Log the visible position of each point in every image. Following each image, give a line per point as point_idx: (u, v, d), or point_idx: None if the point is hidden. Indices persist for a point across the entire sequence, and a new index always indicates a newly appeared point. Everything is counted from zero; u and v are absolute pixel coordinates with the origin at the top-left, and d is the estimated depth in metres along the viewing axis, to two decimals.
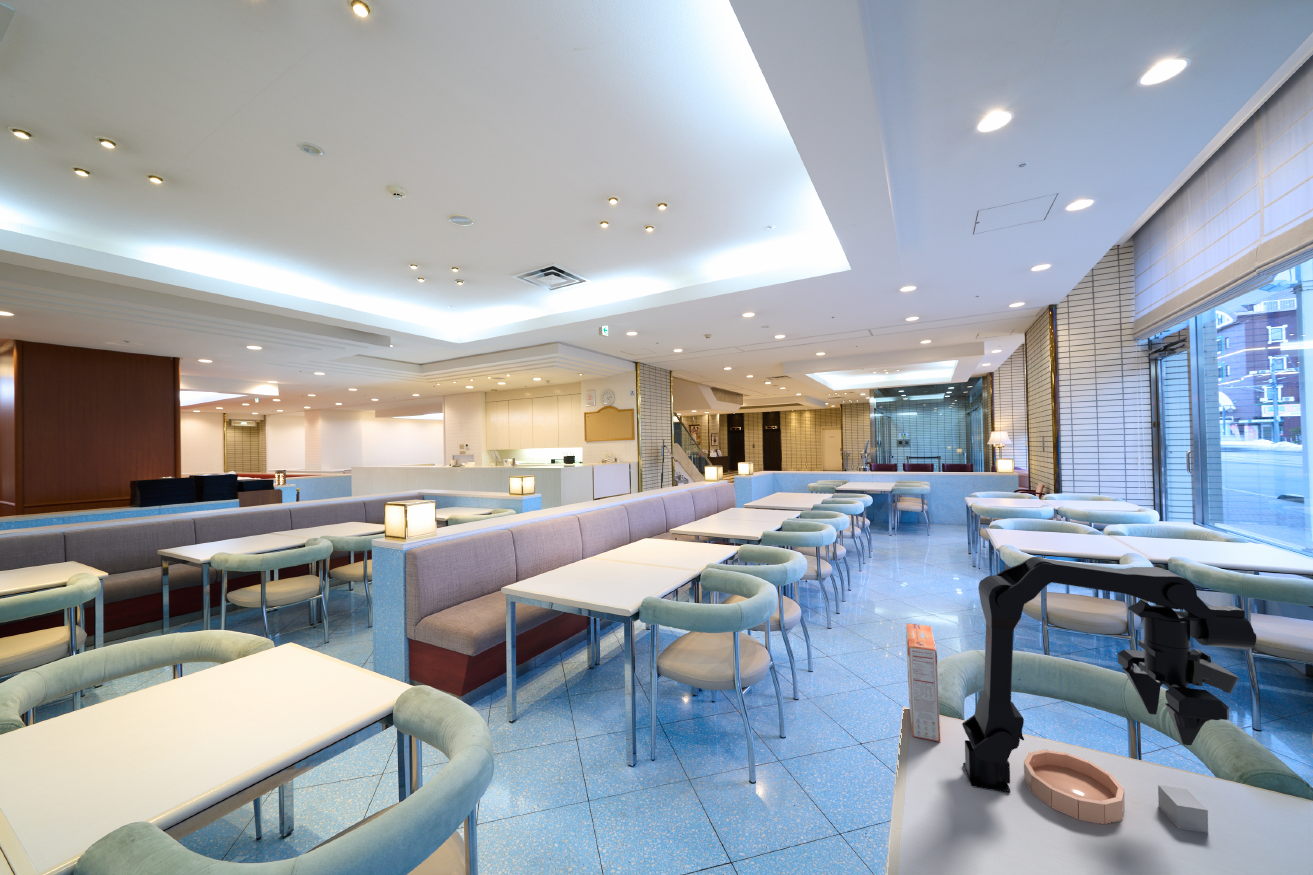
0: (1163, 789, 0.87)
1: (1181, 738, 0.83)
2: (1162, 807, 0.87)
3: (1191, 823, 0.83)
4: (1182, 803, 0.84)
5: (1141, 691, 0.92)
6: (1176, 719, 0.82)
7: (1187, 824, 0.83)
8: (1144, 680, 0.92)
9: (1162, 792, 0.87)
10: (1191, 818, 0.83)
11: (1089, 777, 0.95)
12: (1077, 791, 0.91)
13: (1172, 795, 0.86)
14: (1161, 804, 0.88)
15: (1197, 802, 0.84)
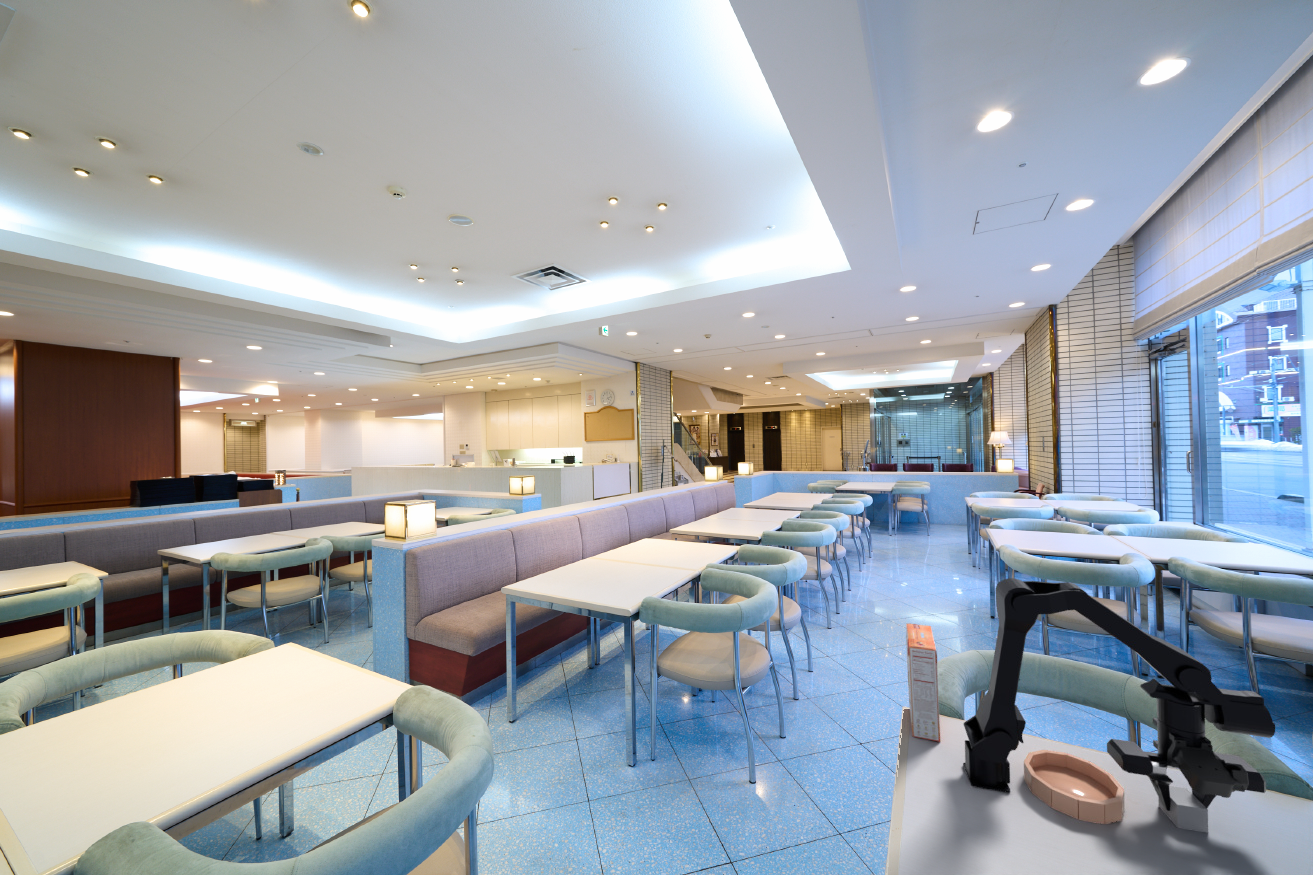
0: None
1: (1160, 798, 0.87)
2: (1162, 806, 0.87)
3: (1191, 822, 0.83)
4: (1182, 802, 0.84)
5: None
6: None
7: (1187, 823, 0.83)
8: None
9: None
10: (1191, 817, 0.83)
11: (1089, 777, 0.95)
12: (1077, 791, 0.91)
13: (1172, 795, 0.86)
14: (1161, 804, 0.88)
15: (1197, 801, 0.84)
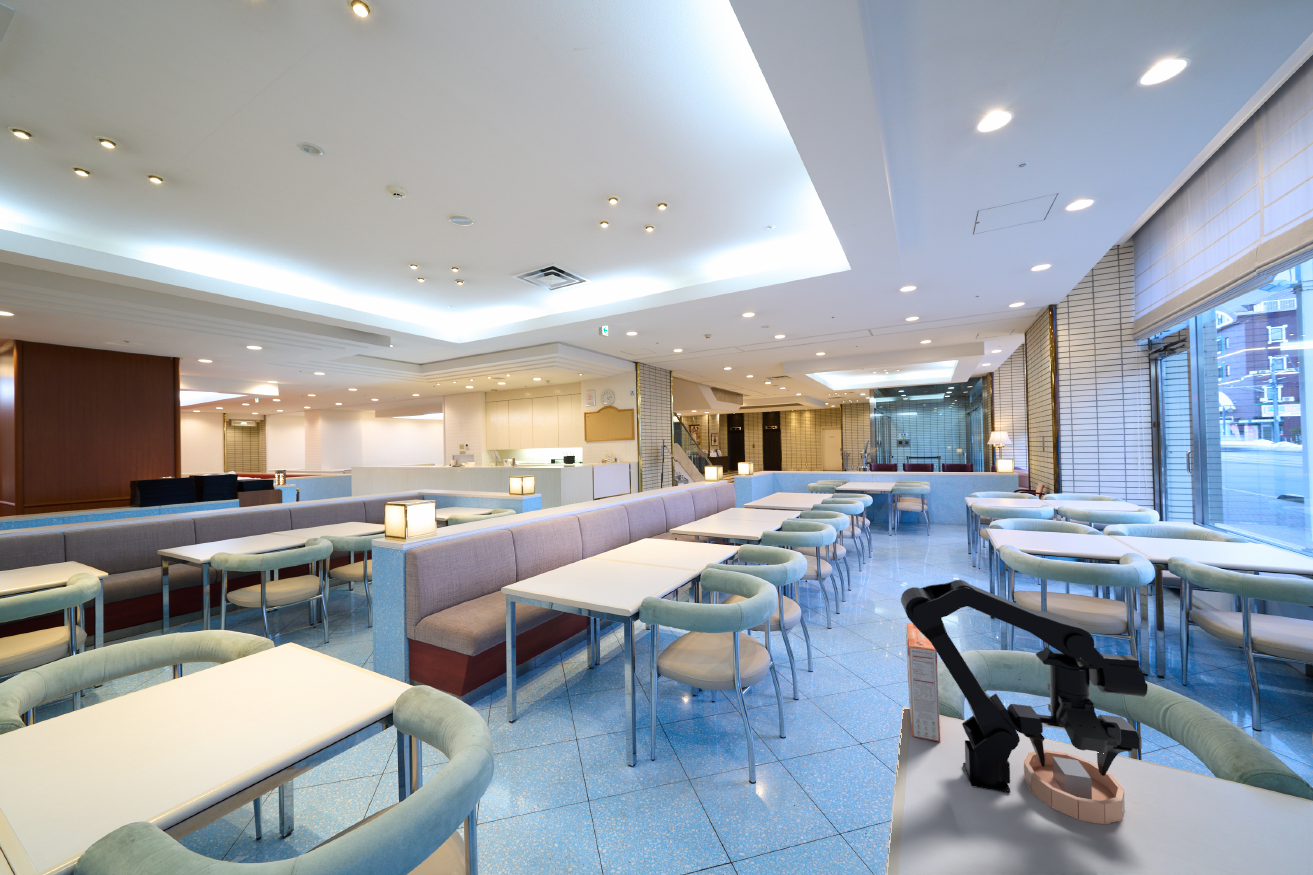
0: (1056, 760, 0.94)
1: (1037, 755, 0.94)
2: (1055, 777, 0.94)
3: (1077, 790, 0.90)
4: (1070, 772, 0.91)
5: None
6: None
7: (1073, 791, 0.90)
8: None
9: (1055, 763, 0.94)
10: (1077, 786, 0.90)
11: None
12: None
13: (1063, 766, 0.92)
14: (1055, 775, 0.94)
15: (1084, 771, 0.91)
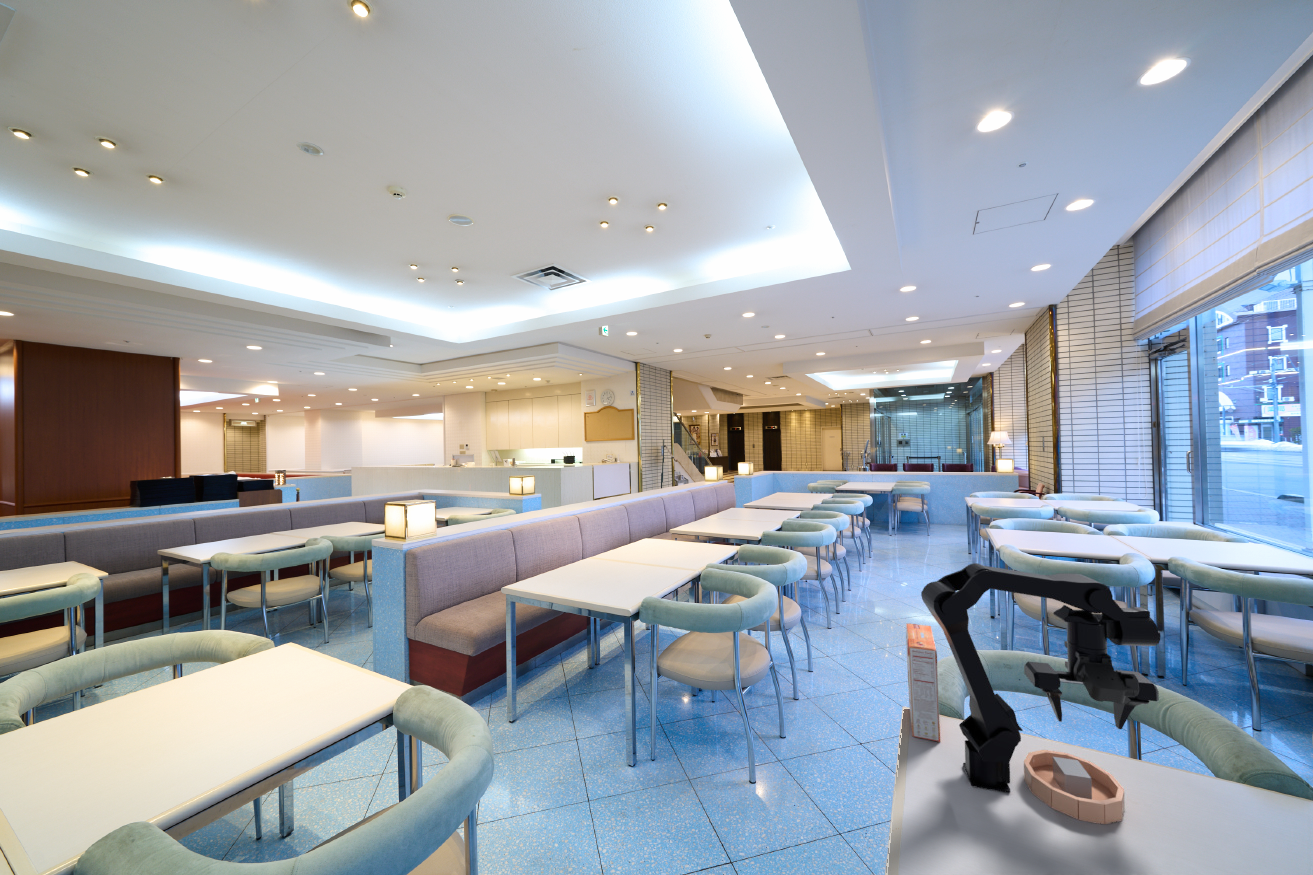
0: (1056, 760, 0.94)
1: (1054, 711, 0.96)
2: (1055, 777, 0.94)
3: (1077, 790, 0.90)
4: (1070, 772, 0.91)
5: (1114, 703, 0.93)
6: None
7: (1073, 791, 0.90)
8: None
9: (1055, 763, 0.94)
10: (1077, 786, 0.90)
11: None
12: None
13: (1063, 766, 0.92)
14: (1055, 775, 0.94)
15: (1084, 771, 0.91)
